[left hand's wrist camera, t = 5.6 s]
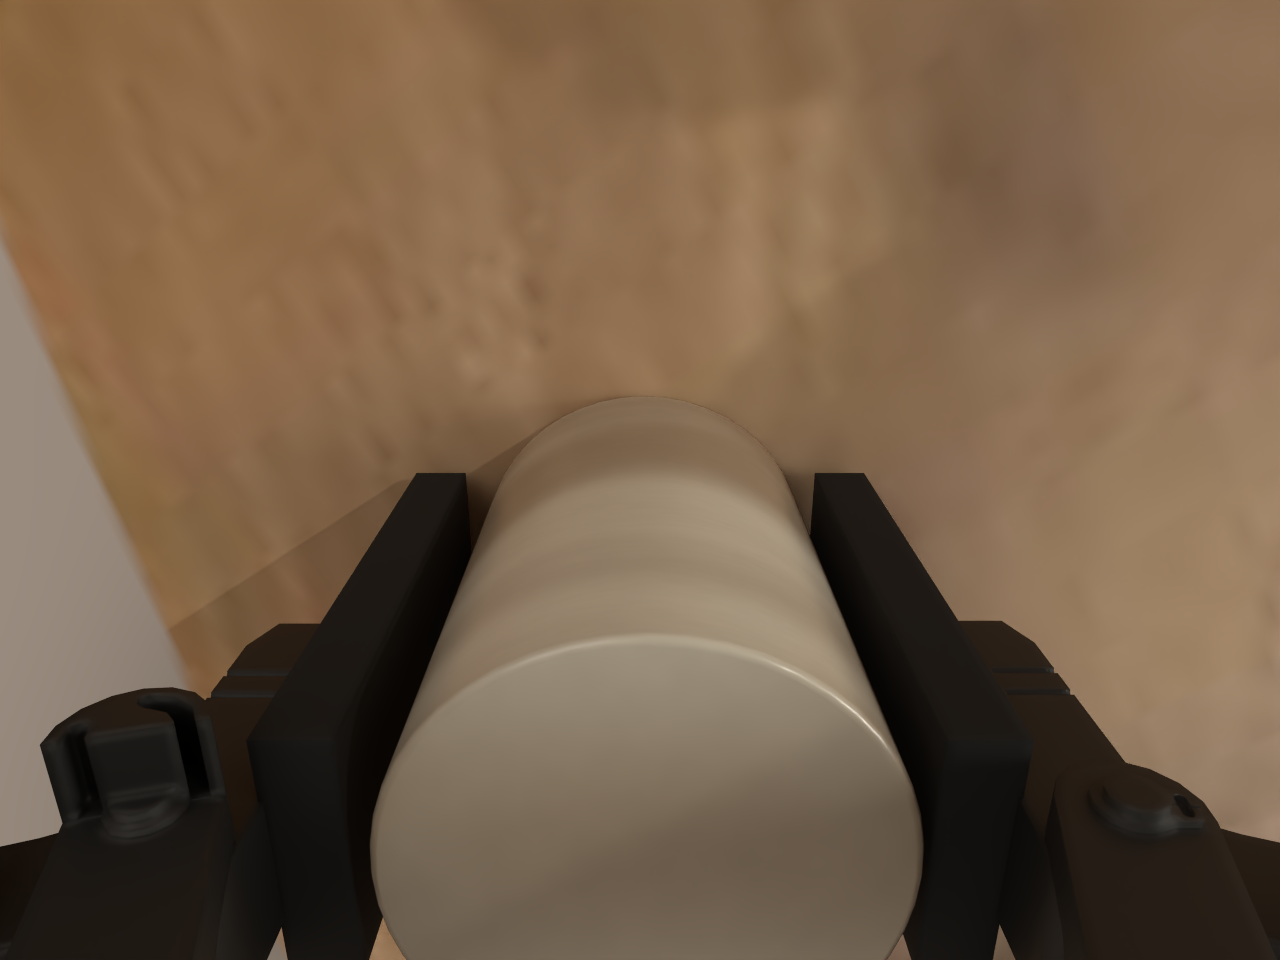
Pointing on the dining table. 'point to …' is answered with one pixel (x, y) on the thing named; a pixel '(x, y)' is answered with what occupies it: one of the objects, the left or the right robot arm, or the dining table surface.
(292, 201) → the dining table surface
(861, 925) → the cylinder
